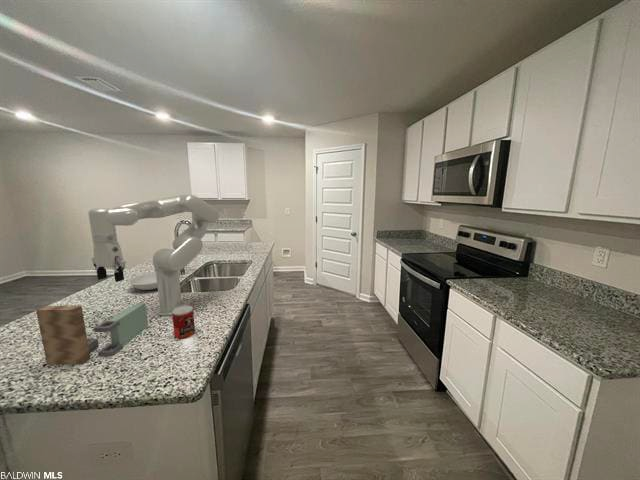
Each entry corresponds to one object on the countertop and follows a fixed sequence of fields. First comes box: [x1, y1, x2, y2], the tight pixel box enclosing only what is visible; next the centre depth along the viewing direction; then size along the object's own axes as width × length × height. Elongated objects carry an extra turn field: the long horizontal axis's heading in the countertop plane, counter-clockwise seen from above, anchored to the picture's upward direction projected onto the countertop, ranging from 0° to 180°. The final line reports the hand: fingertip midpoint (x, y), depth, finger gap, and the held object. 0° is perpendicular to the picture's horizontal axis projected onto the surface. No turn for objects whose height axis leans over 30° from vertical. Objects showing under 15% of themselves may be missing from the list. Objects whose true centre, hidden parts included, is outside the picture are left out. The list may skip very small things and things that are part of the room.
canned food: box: [171, 305, 196, 340], centre depth 103 cm, size 8×8×11 cm
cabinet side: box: [35, 305, 100, 366], centre depth 88 cm, size 12×10×20 cm
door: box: [93, 302, 149, 357], centre depth 99 cm, size 5×21×11 cm, turn 1°
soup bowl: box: [127, 271, 158, 291], centre depth 155 cm, size 24×24×7 cm
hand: (111, 279), depth 103 cm, fingers open, 9 cm apart
